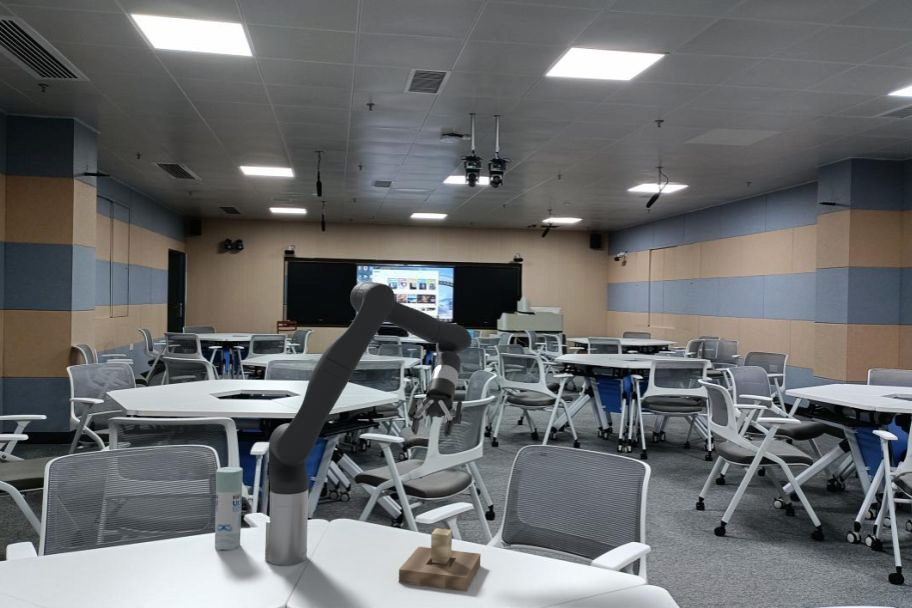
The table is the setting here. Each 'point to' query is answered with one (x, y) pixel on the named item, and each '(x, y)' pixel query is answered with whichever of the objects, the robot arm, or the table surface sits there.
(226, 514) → the spray paint can
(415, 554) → the walnut board
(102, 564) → the table surface
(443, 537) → the oak peg
